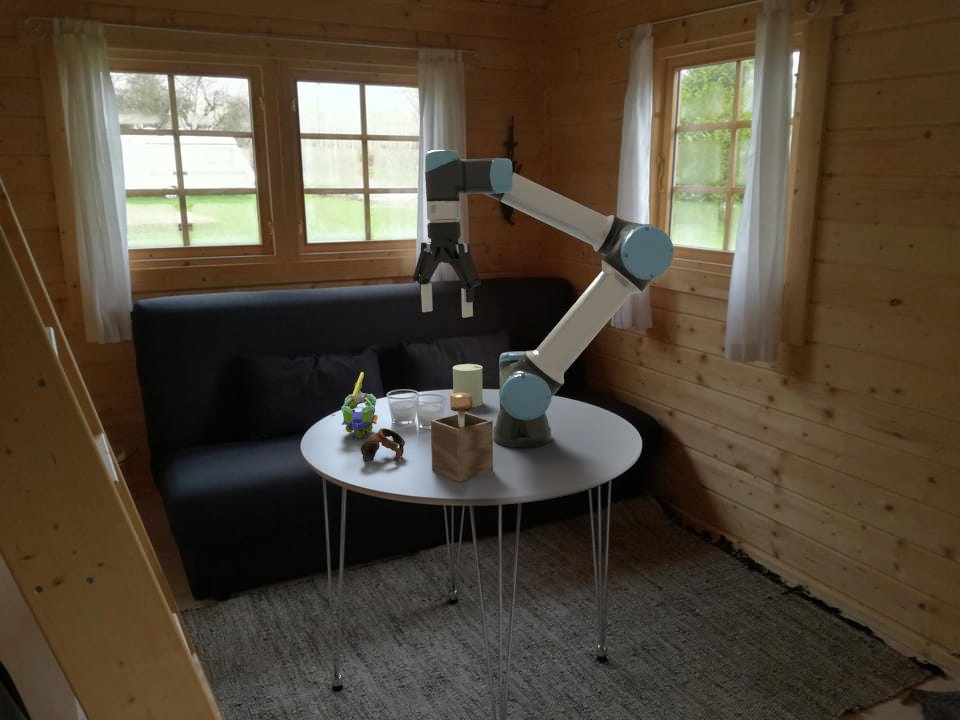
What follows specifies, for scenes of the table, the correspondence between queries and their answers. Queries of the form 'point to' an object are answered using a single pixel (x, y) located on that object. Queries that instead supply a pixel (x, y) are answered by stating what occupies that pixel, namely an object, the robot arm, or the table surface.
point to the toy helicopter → (359, 419)
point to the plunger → (461, 406)
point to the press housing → (462, 447)
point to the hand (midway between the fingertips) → (446, 314)
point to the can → (469, 381)
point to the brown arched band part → (373, 444)
